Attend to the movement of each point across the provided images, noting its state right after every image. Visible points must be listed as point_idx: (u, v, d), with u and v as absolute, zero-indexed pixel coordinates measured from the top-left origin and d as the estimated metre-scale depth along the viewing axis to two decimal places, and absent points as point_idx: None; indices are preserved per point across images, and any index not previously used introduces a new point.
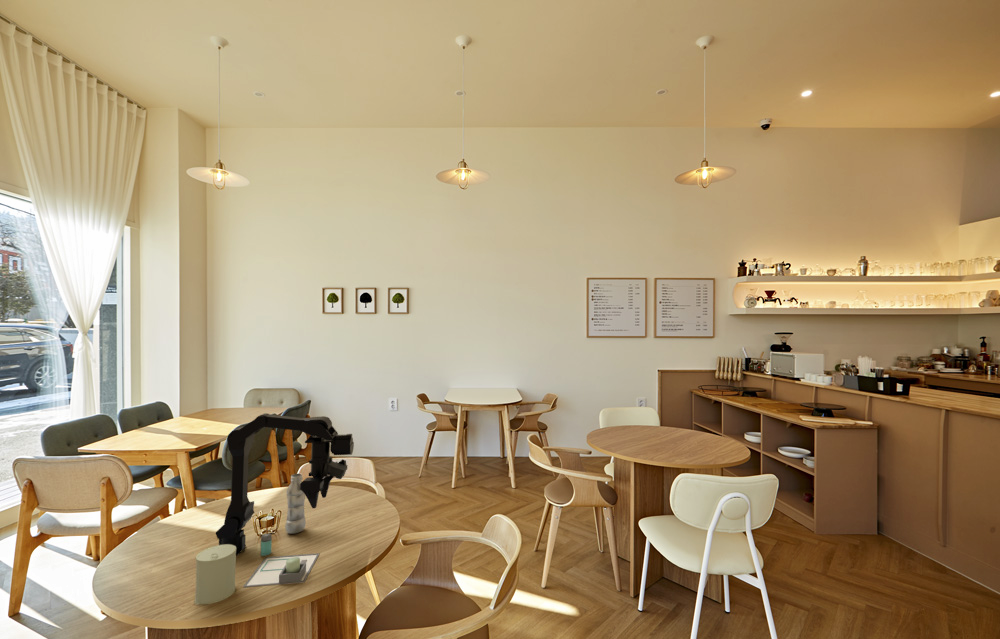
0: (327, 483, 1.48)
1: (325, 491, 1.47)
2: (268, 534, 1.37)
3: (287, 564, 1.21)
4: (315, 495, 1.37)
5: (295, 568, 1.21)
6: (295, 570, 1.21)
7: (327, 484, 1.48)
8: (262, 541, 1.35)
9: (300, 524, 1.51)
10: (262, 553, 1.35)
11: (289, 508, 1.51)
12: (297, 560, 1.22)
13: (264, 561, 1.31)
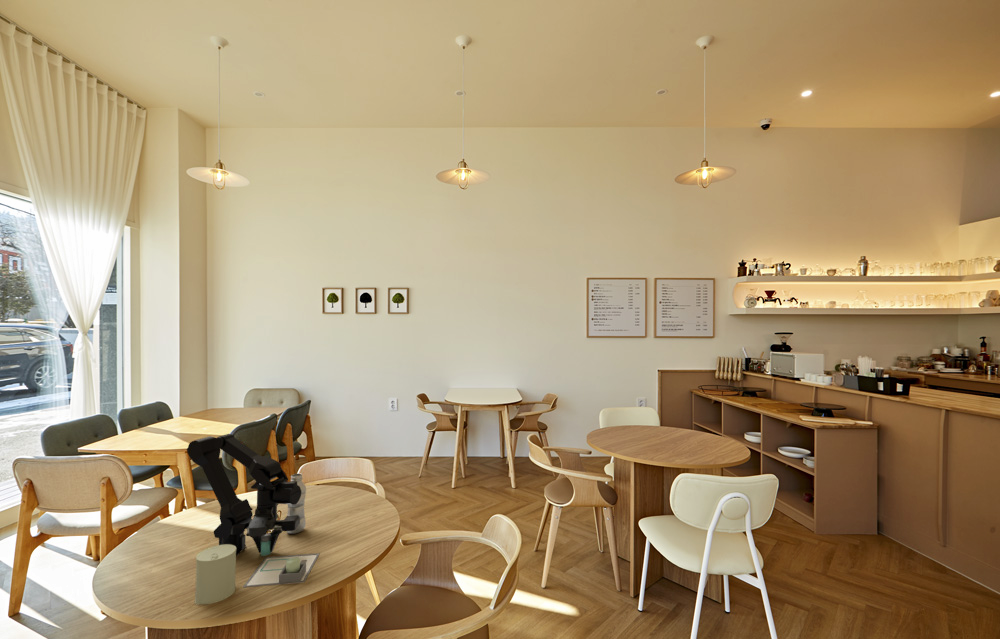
0: None
1: None
2: (268, 534, 1.37)
3: (287, 564, 1.21)
4: None
5: (295, 568, 1.21)
6: (295, 570, 1.21)
7: None
8: (262, 541, 1.35)
9: (300, 524, 1.51)
10: (262, 553, 1.35)
11: (289, 508, 1.51)
12: (297, 560, 1.22)
13: (264, 561, 1.31)
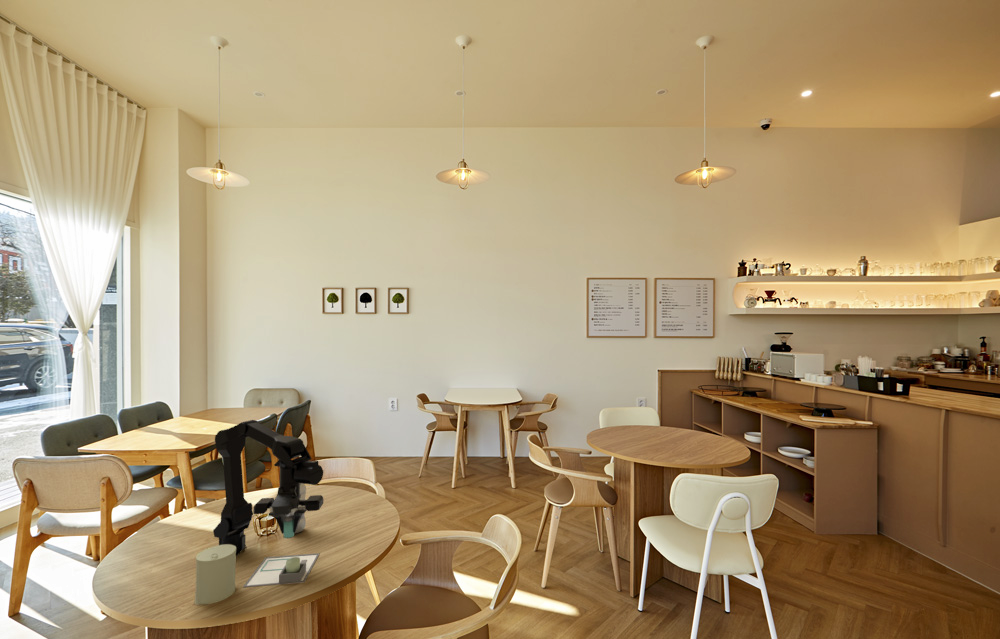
0: None
1: None
2: (291, 514, 1.32)
3: (287, 564, 1.21)
4: None
5: (295, 568, 1.21)
6: (295, 570, 1.21)
7: None
8: (285, 521, 1.30)
9: (300, 524, 1.51)
10: (285, 533, 1.30)
11: None
12: (297, 560, 1.22)
13: (264, 561, 1.31)
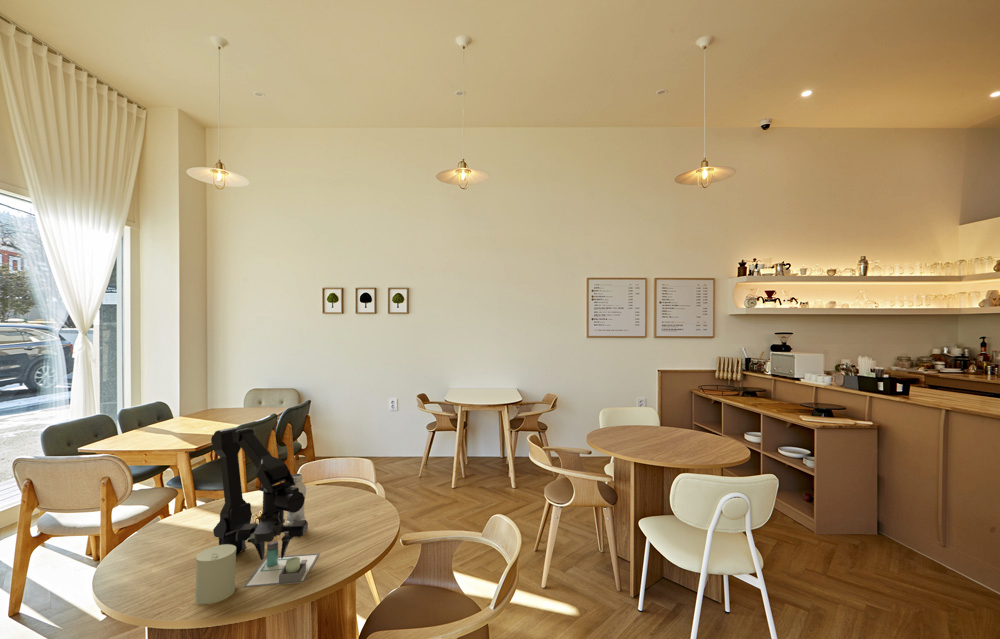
0: None
1: None
2: (274, 542, 1.30)
3: (287, 564, 1.21)
4: None
5: (295, 568, 1.21)
6: (295, 570, 1.21)
7: None
8: (268, 549, 1.28)
9: None
10: (268, 562, 1.28)
11: None
12: (297, 560, 1.22)
13: (264, 561, 1.31)
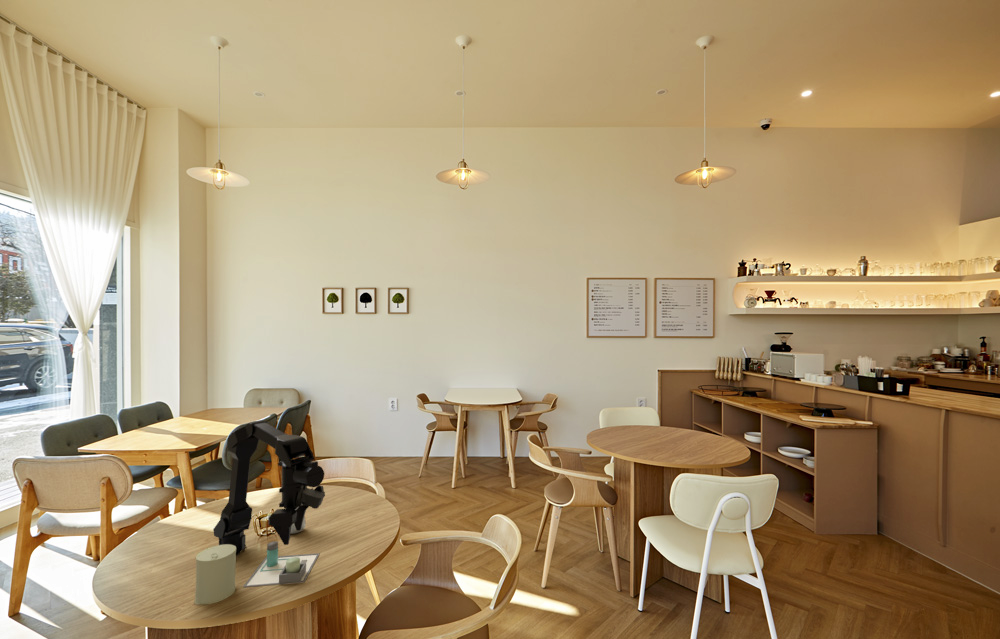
0: (302, 513, 1.28)
1: (300, 523, 1.28)
2: (274, 542, 1.30)
3: (287, 564, 1.21)
4: (287, 529, 1.18)
5: (295, 568, 1.21)
6: (295, 570, 1.21)
7: (302, 514, 1.28)
8: (268, 549, 1.28)
9: None
10: (268, 562, 1.28)
11: None
12: (297, 560, 1.22)
13: (264, 561, 1.31)
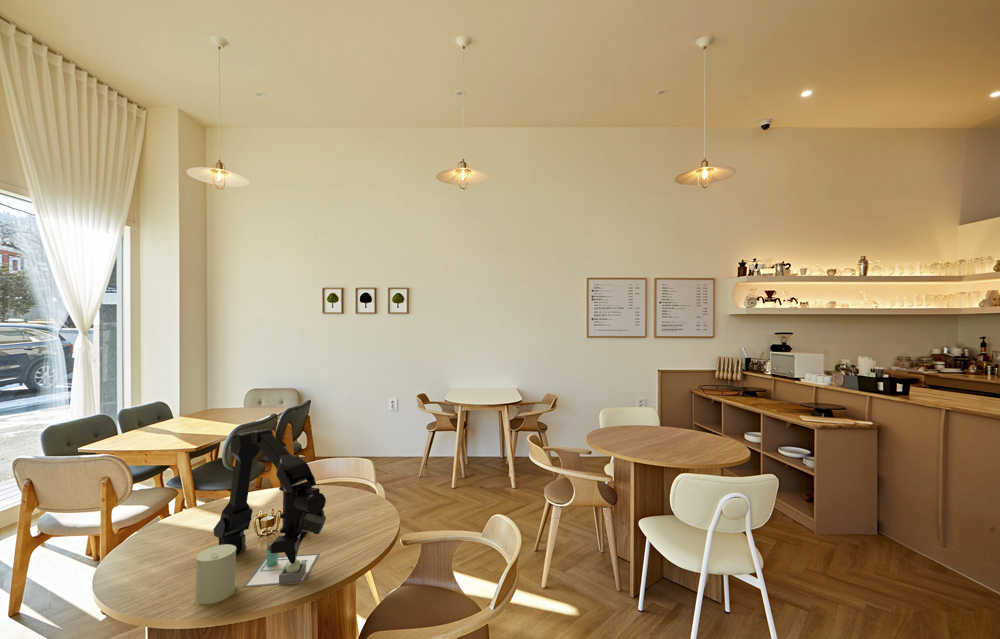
0: None
1: None
2: None
3: (287, 566, 1.21)
4: None
5: (295, 571, 1.21)
6: (295, 572, 1.21)
7: None
8: (268, 550, 1.28)
9: None
10: (268, 562, 1.28)
11: None
12: (297, 562, 1.22)
13: (264, 561, 1.31)
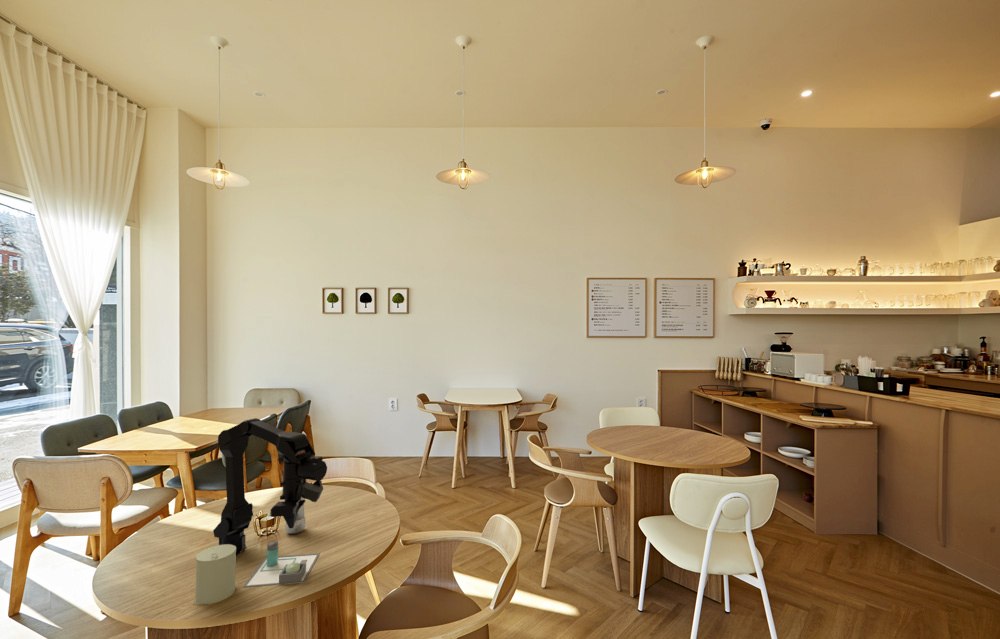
0: (295, 511, 1.32)
1: None
2: (274, 542, 1.30)
3: (287, 570, 1.21)
4: (292, 514, 1.29)
5: None
6: None
7: (295, 512, 1.32)
8: (268, 549, 1.28)
9: (300, 524, 1.51)
10: (268, 562, 1.28)
11: None
12: (297, 565, 1.22)
13: (264, 561, 1.31)
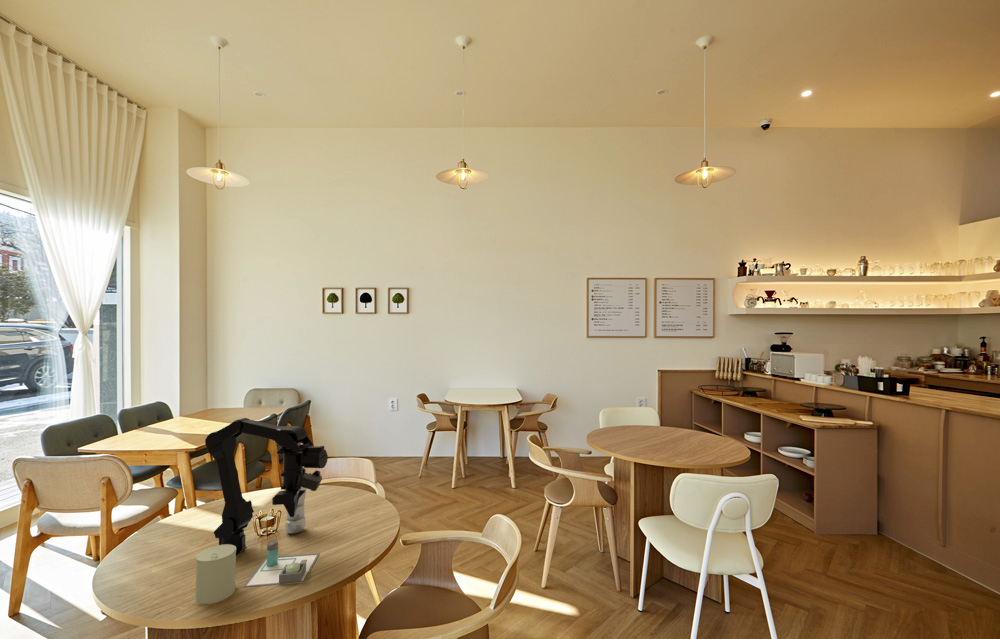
0: (296, 500, 1.38)
1: None
2: (274, 542, 1.30)
3: (287, 570, 1.21)
4: (293, 503, 1.35)
5: None
6: None
7: None
8: (268, 549, 1.28)
9: (300, 524, 1.51)
10: (268, 562, 1.28)
11: None
12: (297, 565, 1.22)
13: (264, 561, 1.31)
